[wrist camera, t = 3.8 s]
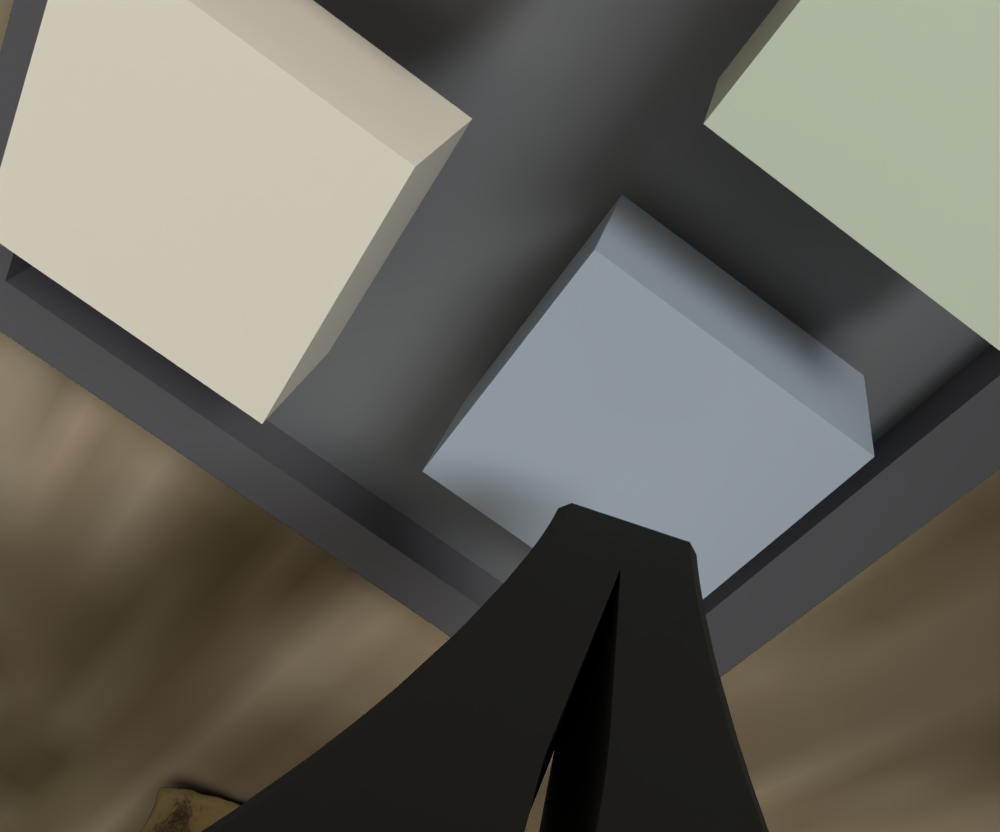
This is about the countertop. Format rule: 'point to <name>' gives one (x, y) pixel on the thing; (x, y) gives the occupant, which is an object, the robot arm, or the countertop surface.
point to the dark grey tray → (521, 286)
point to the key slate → (657, 405)
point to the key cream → (218, 177)
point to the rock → (185, 811)
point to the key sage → (884, 133)
